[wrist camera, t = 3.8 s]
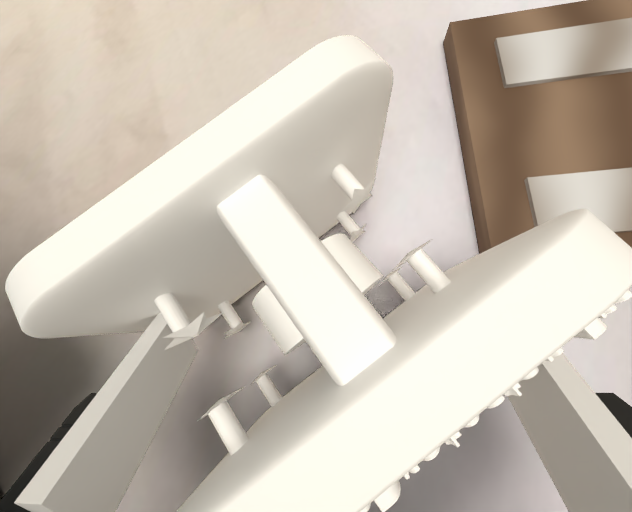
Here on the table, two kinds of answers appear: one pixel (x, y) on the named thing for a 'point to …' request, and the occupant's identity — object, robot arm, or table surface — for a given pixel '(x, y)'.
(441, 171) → the table surface
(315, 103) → the cable organizer
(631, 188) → the mounting board
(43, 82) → the table surface
